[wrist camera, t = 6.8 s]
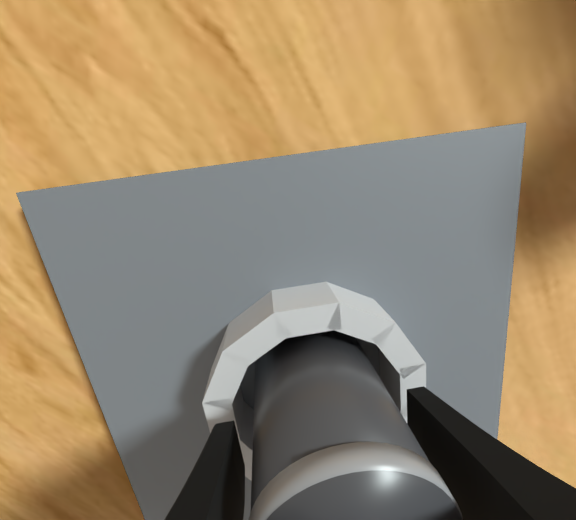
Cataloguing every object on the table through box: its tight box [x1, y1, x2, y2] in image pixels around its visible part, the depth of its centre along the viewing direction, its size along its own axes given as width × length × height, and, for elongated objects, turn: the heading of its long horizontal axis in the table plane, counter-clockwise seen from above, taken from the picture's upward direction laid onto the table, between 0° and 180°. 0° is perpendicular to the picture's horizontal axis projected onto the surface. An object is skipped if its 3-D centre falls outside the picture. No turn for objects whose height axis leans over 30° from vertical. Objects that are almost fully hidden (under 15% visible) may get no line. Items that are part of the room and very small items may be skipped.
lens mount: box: [16, 123, 526, 520], centre depth 12 cm, size 18×18×3 cm
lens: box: [249, 330, 463, 520], centre depth 9 cm, size 5×5×6 cm
